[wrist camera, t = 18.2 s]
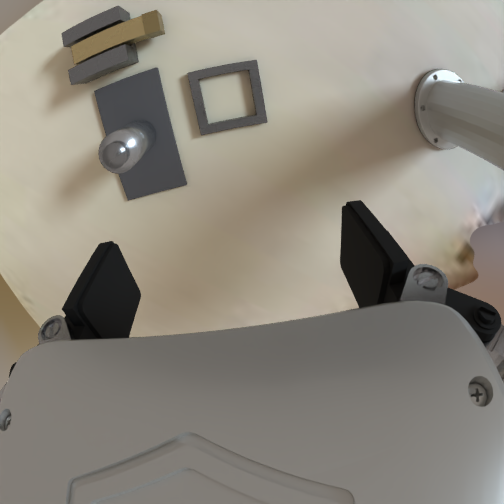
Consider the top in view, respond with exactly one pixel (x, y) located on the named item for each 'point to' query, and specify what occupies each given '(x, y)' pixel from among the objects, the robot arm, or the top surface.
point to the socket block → (107, 60)
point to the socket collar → (231, 123)
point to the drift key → (119, 36)
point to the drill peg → (126, 146)
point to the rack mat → (155, 112)
